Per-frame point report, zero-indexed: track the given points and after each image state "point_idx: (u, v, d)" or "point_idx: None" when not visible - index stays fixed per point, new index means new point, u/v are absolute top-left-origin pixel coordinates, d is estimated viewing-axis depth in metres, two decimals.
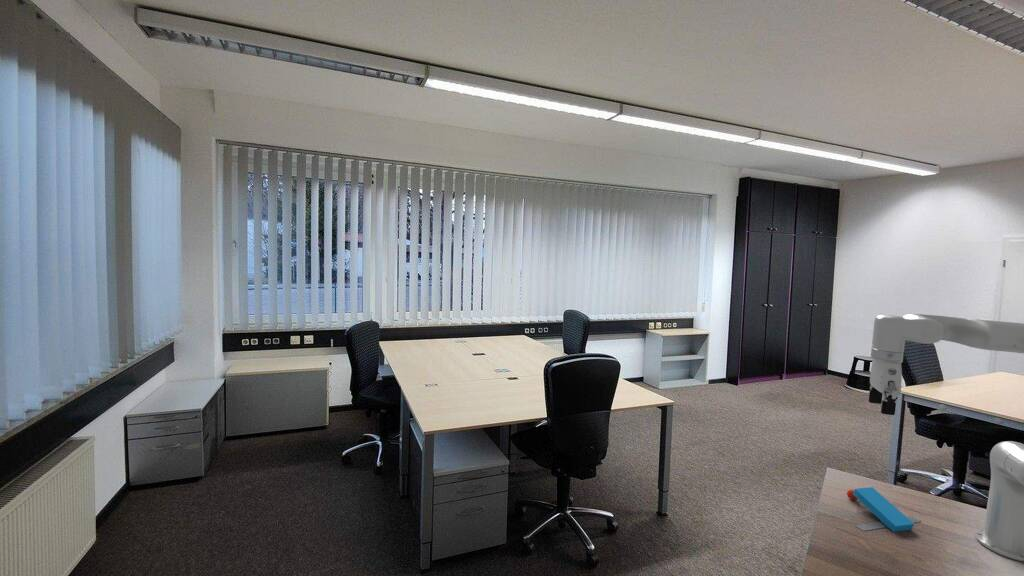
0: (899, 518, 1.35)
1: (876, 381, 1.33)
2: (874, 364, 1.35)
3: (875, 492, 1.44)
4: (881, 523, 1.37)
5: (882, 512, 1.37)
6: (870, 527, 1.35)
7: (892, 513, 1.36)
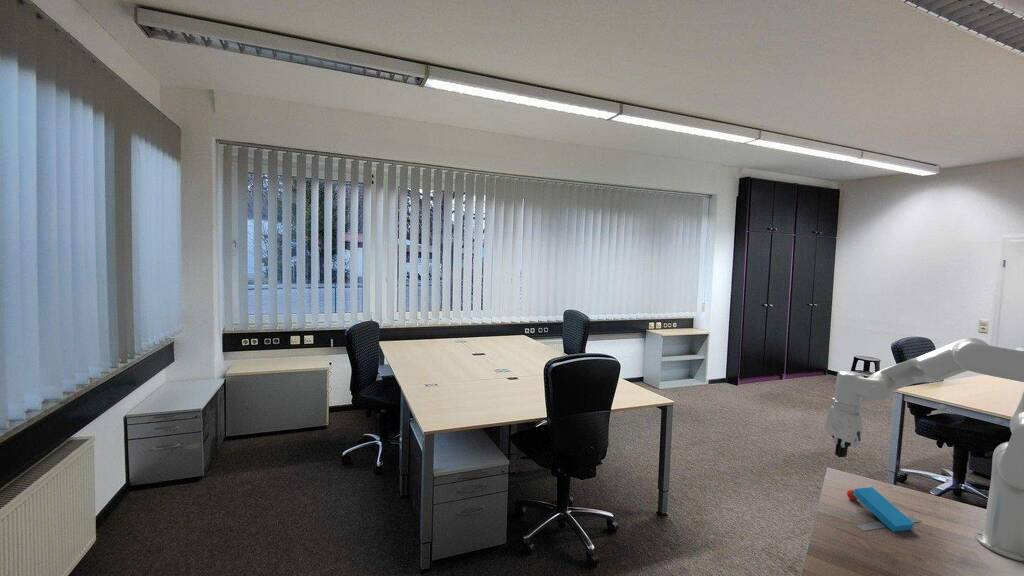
0: (899, 518, 1.35)
1: None
2: None
3: (875, 492, 1.44)
4: (881, 523, 1.37)
5: (882, 512, 1.37)
6: (870, 527, 1.35)
7: (892, 513, 1.36)
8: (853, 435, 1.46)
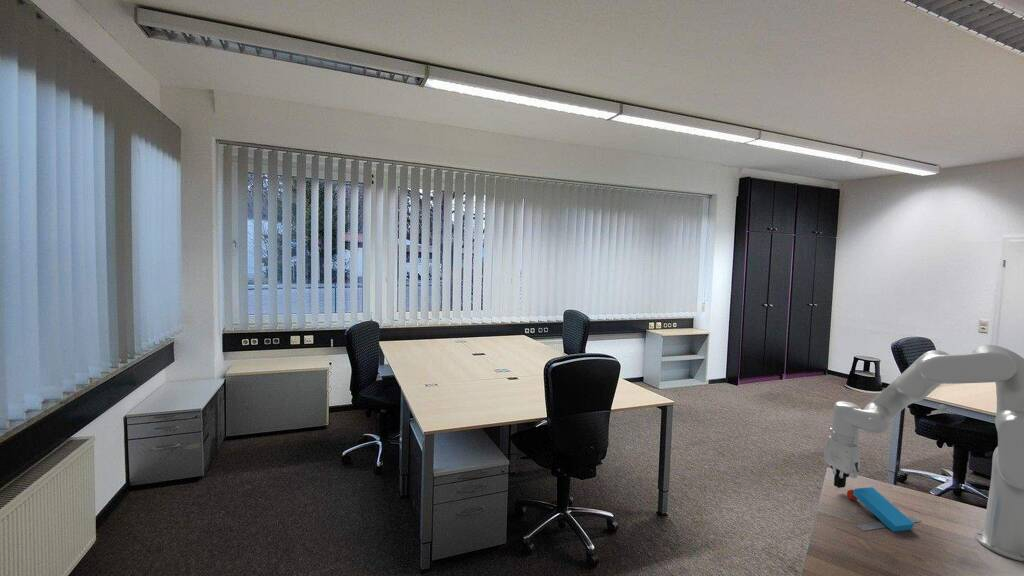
0: (899, 518, 1.35)
1: None
2: None
3: (875, 492, 1.44)
4: (881, 523, 1.37)
5: (882, 512, 1.37)
6: (870, 527, 1.35)
7: (892, 513, 1.36)
8: (851, 466, 1.47)
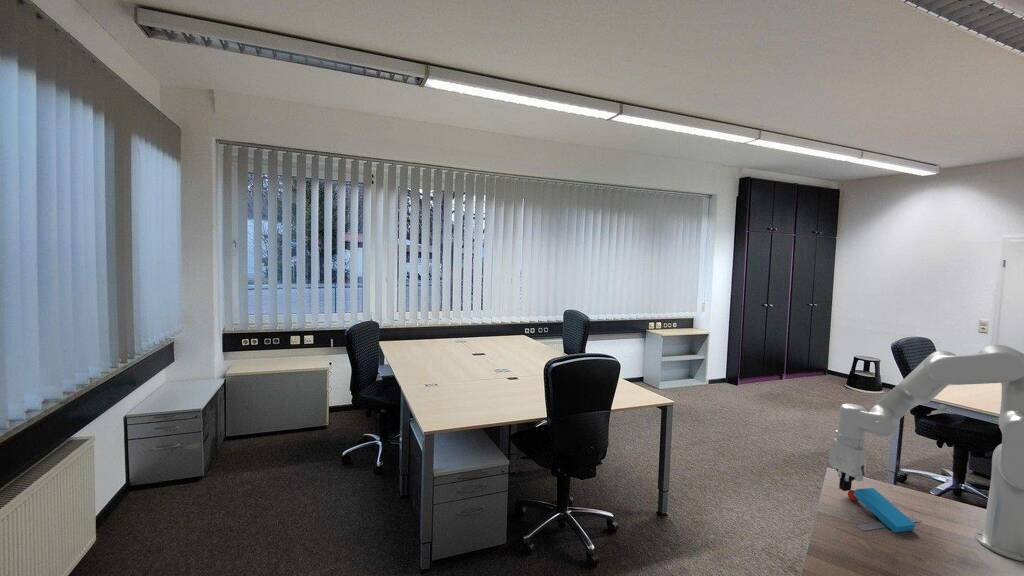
0: (900, 519, 1.35)
1: None
2: None
3: (876, 493, 1.44)
4: (881, 523, 1.37)
5: (883, 512, 1.36)
6: (870, 527, 1.35)
7: (893, 514, 1.36)
8: (857, 470, 1.45)
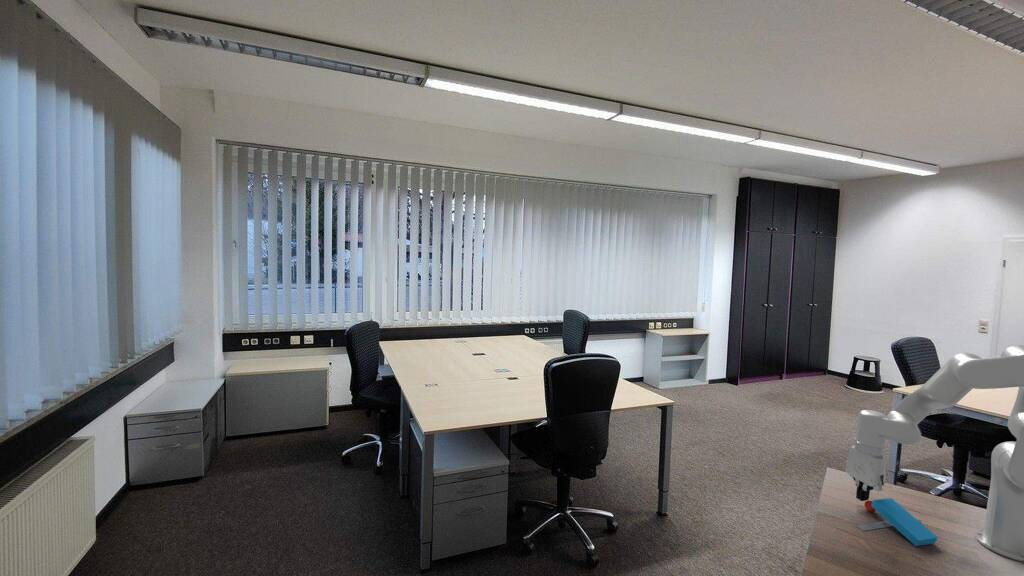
0: (921, 532, 1.29)
1: None
2: None
3: (894, 503, 1.38)
4: (881, 523, 1.37)
5: (903, 525, 1.30)
6: (870, 527, 1.35)
7: (914, 526, 1.30)
8: (876, 479, 1.39)
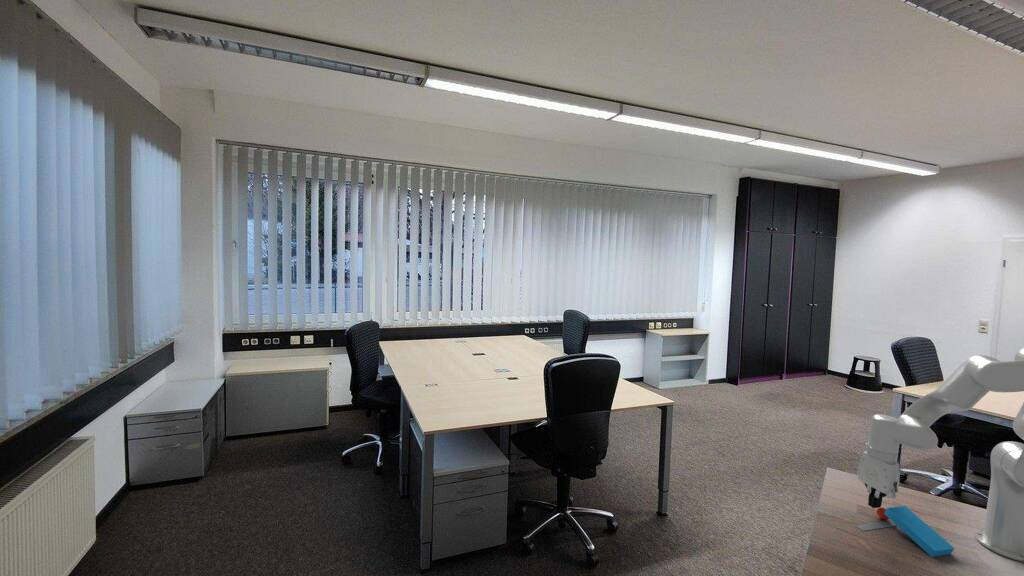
0: (937, 542, 1.25)
1: None
2: None
3: (908, 512, 1.34)
4: (881, 523, 1.37)
5: (919, 534, 1.26)
6: (870, 527, 1.35)
7: (930, 536, 1.26)
8: (889, 486, 1.35)
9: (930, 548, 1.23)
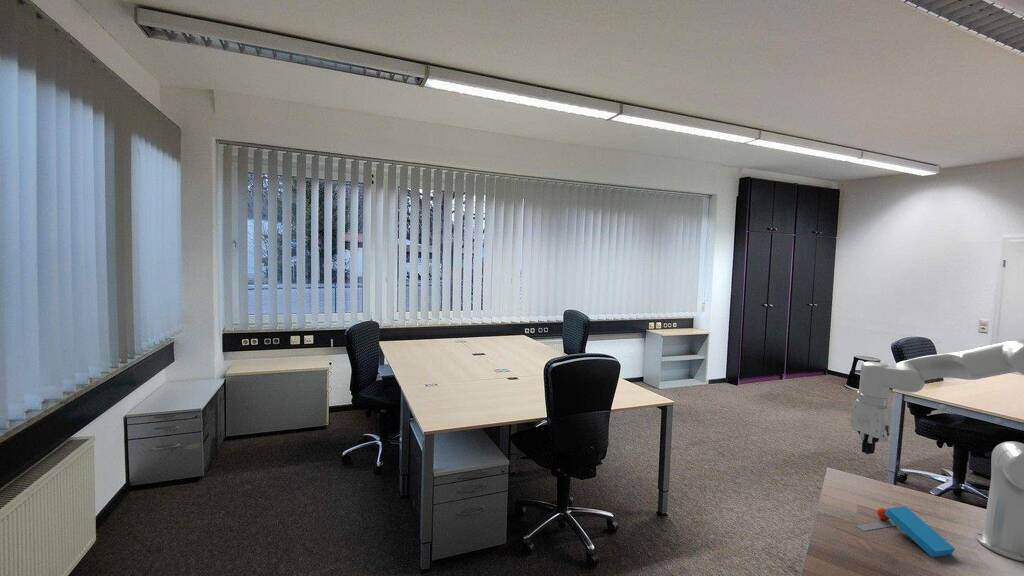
0: (938, 542, 1.24)
1: None
2: None
3: (909, 512, 1.34)
4: (881, 523, 1.37)
5: (919, 535, 1.26)
6: (870, 527, 1.35)
7: (930, 536, 1.26)
8: (881, 430, 1.38)
9: (930, 548, 1.23)
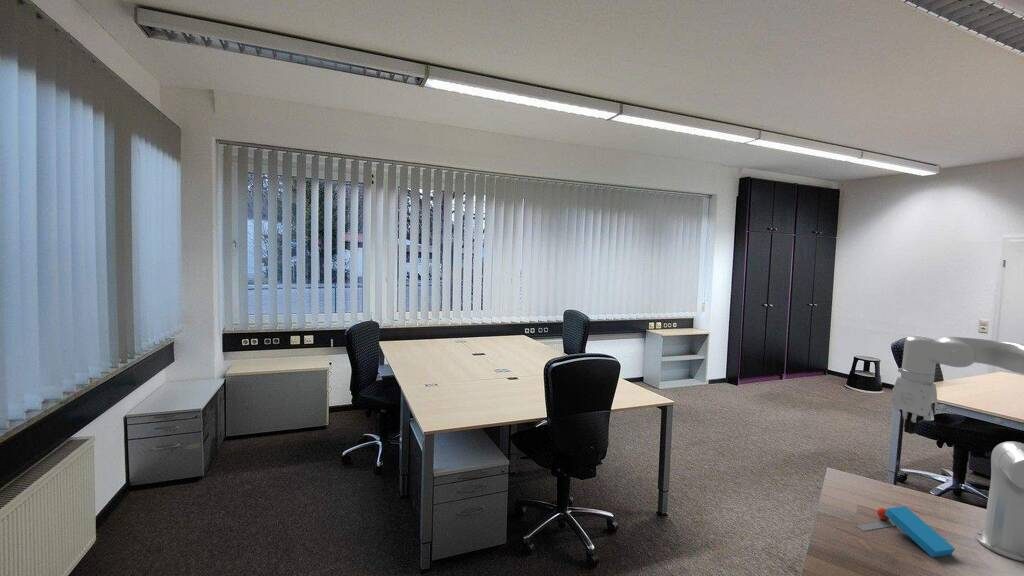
0: (938, 542, 1.24)
1: None
2: None
3: (909, 512, 1.34)
4: (881, 523, 1.37)
5: (919, 535, 1.26)
6: (870, 527, 1.35)
7: (930, 536, 1.26)
8: (927, 407, 1.30)
9: (930, 548, 1.23)
